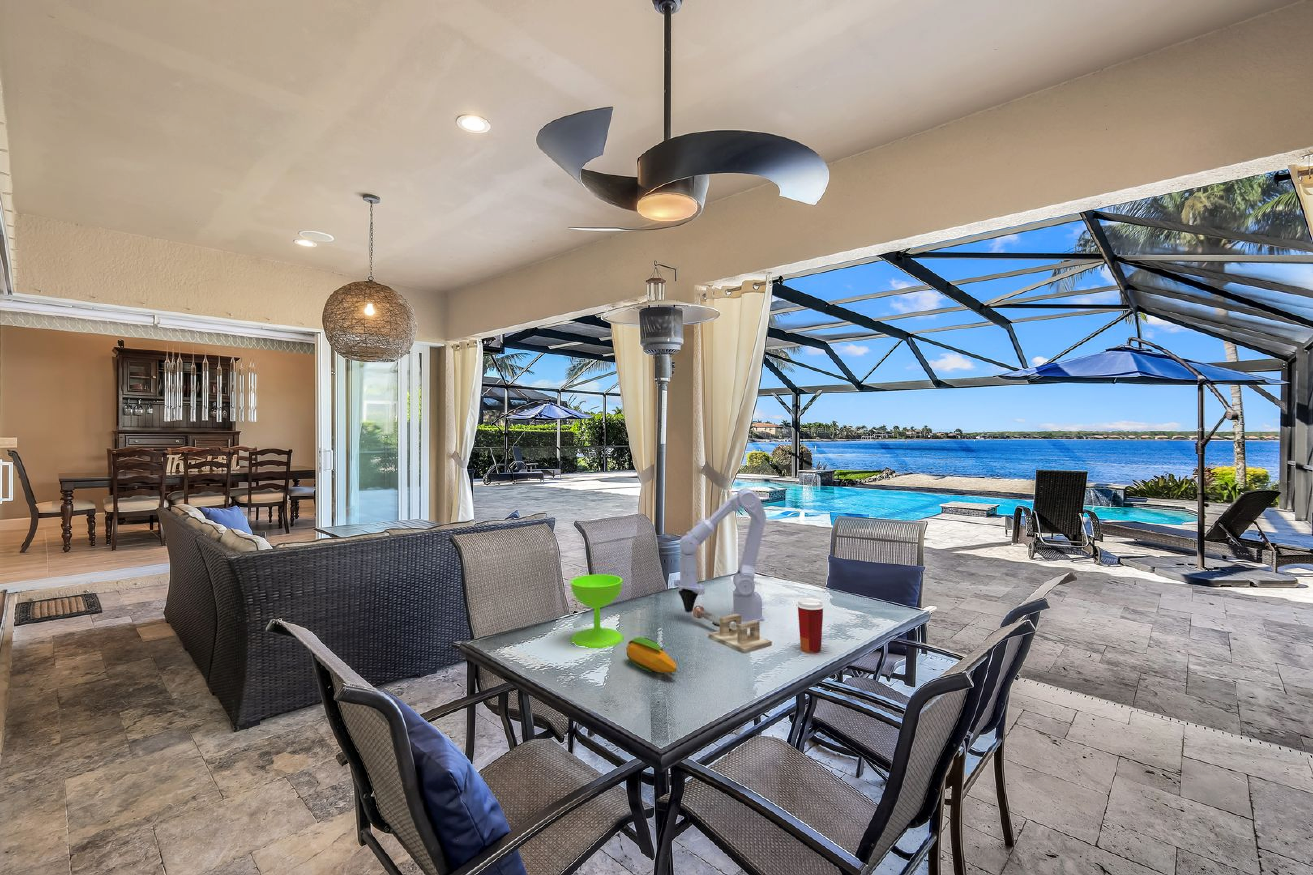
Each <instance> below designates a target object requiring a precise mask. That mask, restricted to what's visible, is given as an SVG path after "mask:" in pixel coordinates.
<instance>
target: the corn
mask: <svg viewBox="0 0 1313 875" xmlns="http://www.w3.org/2000/svg"><path fill="white" fill-rule="evenodd" d="M625 650H626V656H627V658H628V659H629V660H630V662H632V663H633V664H634V665H635V666H636V667H638V668H640V669H642V670H644V671H647V672H650V673H652V671H653V672H657V673H660V674H662V673H663V674H673V673H675V672H677V664H676V662H675V661H674V660H673V659H672V658H671V656H669V655H668V654H667V653H666V652H665V651H664V649H663V648H662V646H660V644H658V643H657V642H656V641H654V640H653V639H650V638H648V637H642V636H641V637H634V638H633V639H631V640H630V641H628V644H627V646H626V649H625Z"/></svg>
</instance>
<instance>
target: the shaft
mask: <svg viewBox="0 0 1313 875" xmlns="http://www.w3.org/2000/svg"><path fill="white" fill-rule="evenodd" d="M692 615H693V617H694V618H695V619H698V620H700V619H702V618H703V619H705V620H708V621H709V622H712V623H715V624H716V625H717V624H718V625H719V626H720V618H721V617H722V616H720V615H717V614H715V613H713V612H709V611H708V610H705V608H704V607H703V606H701V605H696V606H695V607H693V611H692ZM737 625H738V624H737V623H736V622H734V621H729V629H732V630H736V629H737Z"/></svg>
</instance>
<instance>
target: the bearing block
mask: <svg viewBox="0 0 1313 875" xmlns="http://www.w3.org/2000/svg"><path fill="white" fill-rule="evenodd" d="M720 617H721V618H720V625H719V630H718V631H713V632H709V633H708V634H707V635H708V638H709V639H711V640H713V641H716V642H718V643H720V644H722V645H724V646H727V647H729V648H731V649H733V650H736V651H738V652H740V653H743V654H747V653H751V652H753V651H758V650H760V649H761V650H762V649H765V648H768V647H771V646H772V645H773V641H772V640H770V639H768V638H764V637H762V636H761V633H760V621H756V620H754V621H750V622H746V623H742V624H741V615H739V614H730V615H724V616H720ZM729 621H734V622H736V623H737V624H738V625H737V629H736V630H732V629H729ZM748 629H749V631H748Z"/></svg>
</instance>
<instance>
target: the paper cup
mask: <svg viewBox="0 0 1313 875" xmlns="http://www.w3.org/2000/svg"><path fill="white" fill-rule="evenodd" d="M796 607H797V611H798V614H797V615H798V629H799V642H800V643H799V644H800V650H801V652H803V653H807V654H818V653H821V649H822V638H823V636H822V635H823V621H824V620H823V619H824V608H825V606H824V602H823V601H822V600H820V599H817V598H813V597H812V598H811V597H805V598H800V599H798V601H797V603H796Z"/></svg>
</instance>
